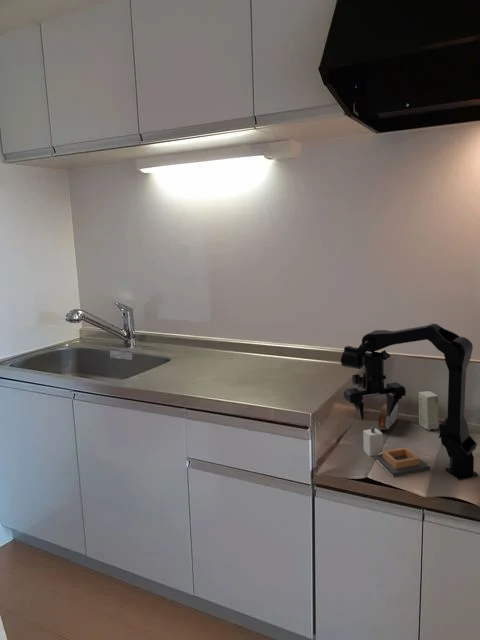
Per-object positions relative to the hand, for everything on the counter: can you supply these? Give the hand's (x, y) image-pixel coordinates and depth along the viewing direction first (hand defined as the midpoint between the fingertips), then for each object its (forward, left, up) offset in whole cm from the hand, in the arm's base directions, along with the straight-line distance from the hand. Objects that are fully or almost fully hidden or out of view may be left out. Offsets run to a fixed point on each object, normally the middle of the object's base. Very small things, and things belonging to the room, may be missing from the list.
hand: (375, 418), depth 165 cm
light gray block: (-1, +1, -11) cm, 11 cm away
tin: (+16, -14, -12) cm, 24 cm away
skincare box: (+10, -26, -12) cm, 30 cm away
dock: (-11, -3, -11) cm, 16 cm away
